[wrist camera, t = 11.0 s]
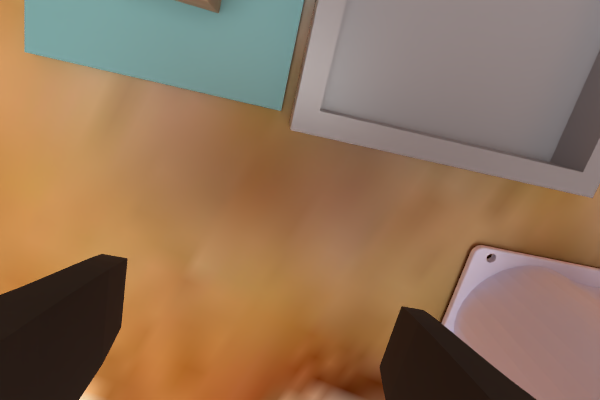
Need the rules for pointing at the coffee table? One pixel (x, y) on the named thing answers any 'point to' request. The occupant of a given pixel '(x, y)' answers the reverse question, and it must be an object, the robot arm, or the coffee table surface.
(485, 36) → the parts bin
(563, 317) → the robot arm
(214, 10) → the maple block
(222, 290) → the coffee table surface
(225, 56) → the teal board
